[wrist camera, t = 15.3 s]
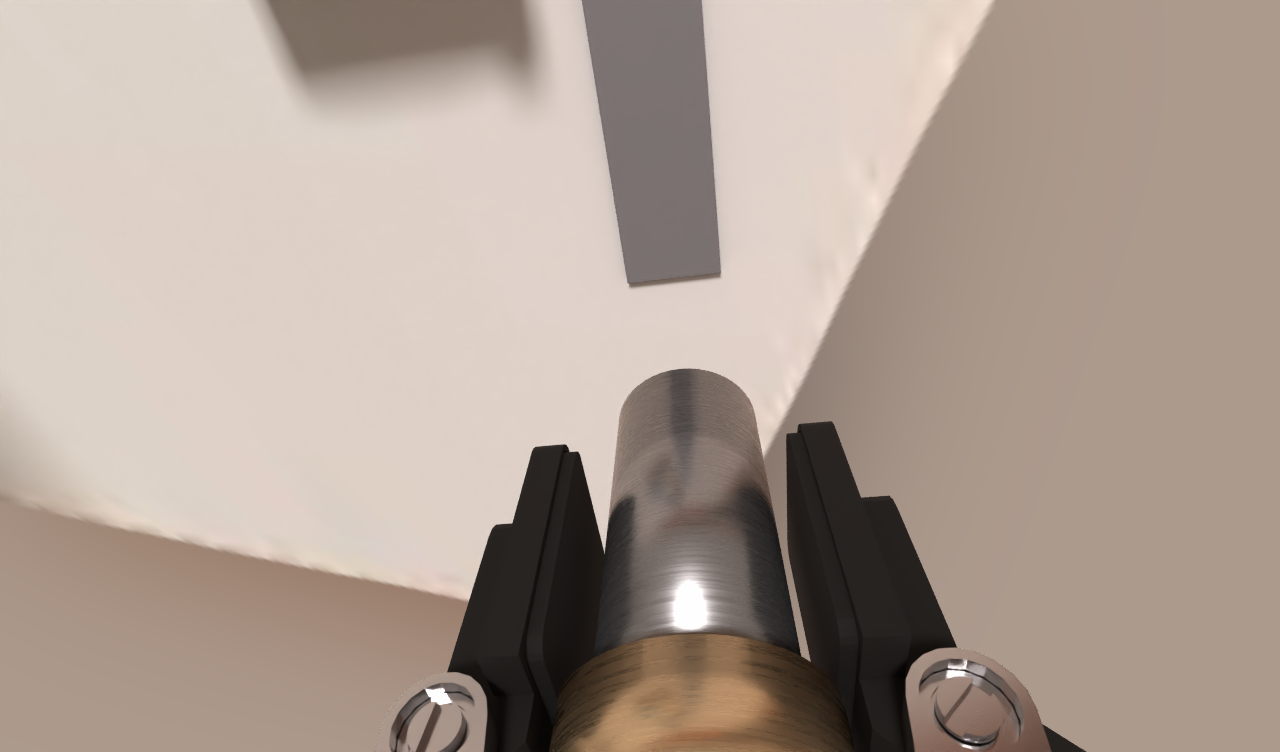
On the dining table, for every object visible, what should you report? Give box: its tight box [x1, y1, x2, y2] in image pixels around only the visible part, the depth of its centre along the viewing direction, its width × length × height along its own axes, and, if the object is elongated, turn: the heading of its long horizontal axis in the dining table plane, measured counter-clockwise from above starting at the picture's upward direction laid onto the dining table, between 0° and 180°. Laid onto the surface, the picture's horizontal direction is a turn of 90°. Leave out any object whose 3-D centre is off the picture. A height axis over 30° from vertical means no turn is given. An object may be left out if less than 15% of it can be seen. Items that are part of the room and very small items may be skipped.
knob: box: [549, 369, 856, 752], centre depth 9 cm, size 4×4×8 cm
